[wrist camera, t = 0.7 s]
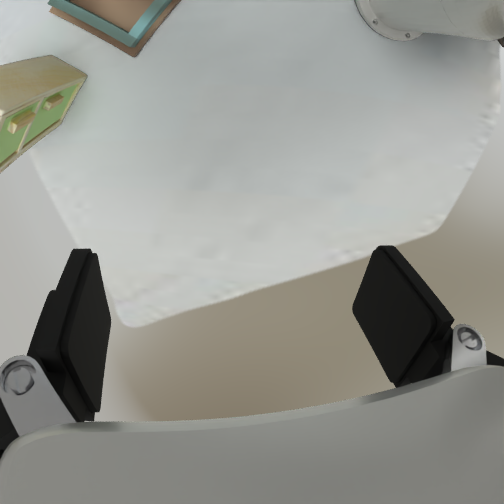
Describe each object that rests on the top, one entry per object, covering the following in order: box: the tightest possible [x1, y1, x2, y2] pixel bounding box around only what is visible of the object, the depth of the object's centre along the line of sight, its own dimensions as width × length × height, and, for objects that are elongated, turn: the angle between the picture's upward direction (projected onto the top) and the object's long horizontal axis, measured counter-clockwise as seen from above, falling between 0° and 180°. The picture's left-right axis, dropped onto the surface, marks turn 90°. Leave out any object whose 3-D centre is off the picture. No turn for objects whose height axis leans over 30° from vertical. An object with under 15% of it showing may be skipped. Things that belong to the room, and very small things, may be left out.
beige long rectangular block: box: [0, 55, 87, 173], centre depth 24 cm, size 8×7×21 cm
